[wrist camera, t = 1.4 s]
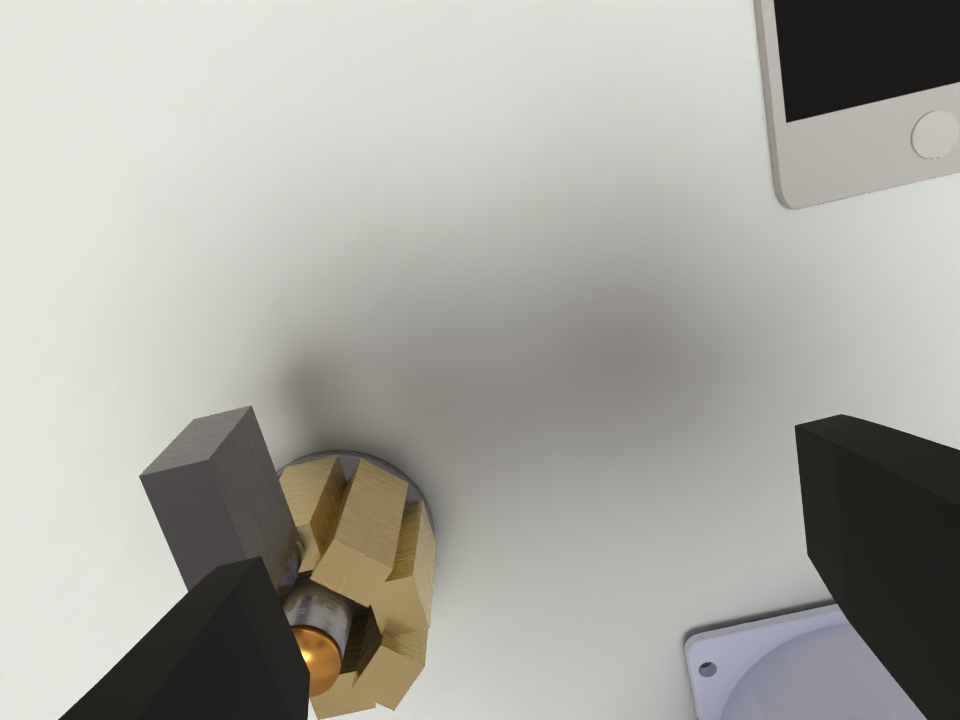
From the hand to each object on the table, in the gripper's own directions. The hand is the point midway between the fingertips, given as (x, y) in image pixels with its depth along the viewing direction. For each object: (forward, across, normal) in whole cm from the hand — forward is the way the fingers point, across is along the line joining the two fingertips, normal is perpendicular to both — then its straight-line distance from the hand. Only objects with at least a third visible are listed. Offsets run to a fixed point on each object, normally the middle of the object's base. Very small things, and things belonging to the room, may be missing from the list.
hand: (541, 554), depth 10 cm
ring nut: (+9, +5, +3) cm, 11 cm away
